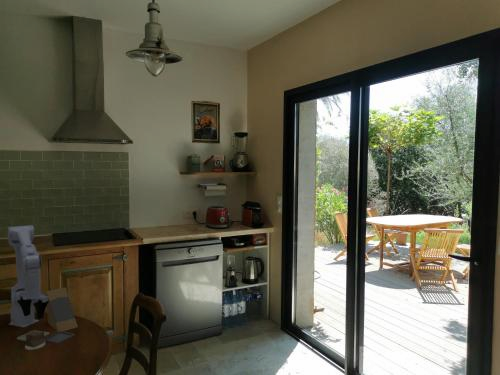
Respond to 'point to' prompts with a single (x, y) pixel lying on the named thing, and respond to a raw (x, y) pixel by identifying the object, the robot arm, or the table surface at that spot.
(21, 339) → the pale green square tile
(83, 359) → the table surface
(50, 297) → the sandwich container
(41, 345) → the coaster
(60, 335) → the grey square tile
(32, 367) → the table surface
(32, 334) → the walnut cube
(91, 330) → the table surface
